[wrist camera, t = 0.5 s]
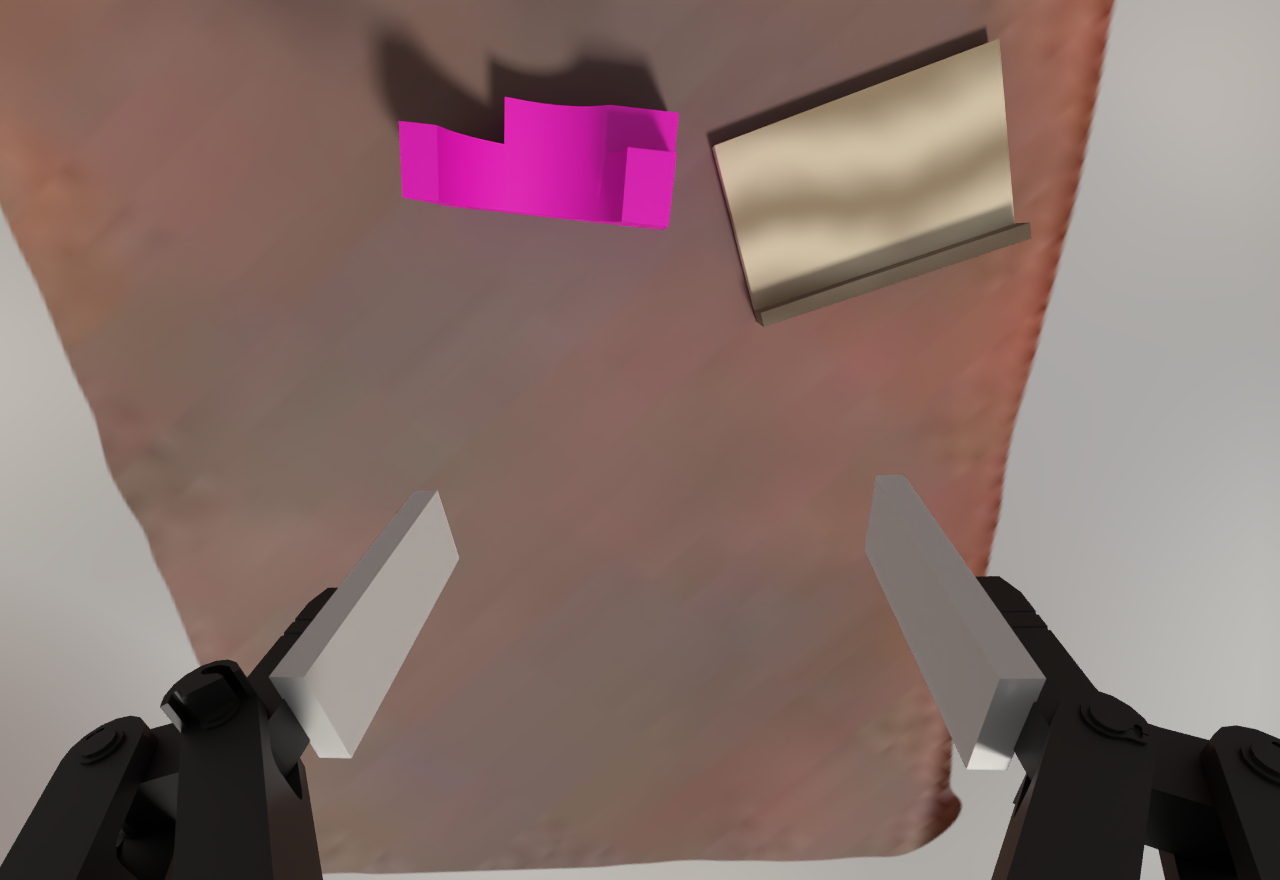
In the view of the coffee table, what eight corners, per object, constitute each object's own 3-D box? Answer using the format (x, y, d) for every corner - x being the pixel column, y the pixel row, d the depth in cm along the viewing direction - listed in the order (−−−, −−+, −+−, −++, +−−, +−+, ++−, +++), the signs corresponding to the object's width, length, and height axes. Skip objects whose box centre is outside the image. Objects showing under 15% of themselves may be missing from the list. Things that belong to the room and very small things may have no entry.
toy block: (674, 128, 35) (682, 99, 28) (663, 229, 37) (668, 226, 30) (446, 102, 34) (395, 65, 27) (448, 206, 36) (402, 197, 29)
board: (712, 148, 35) (717, 141, 33) (989, 44, 33) (1015, 28, 31) (756, 321, 39) (764, 326, 37) (1006, 238, 37) (1031, 238, 35)
